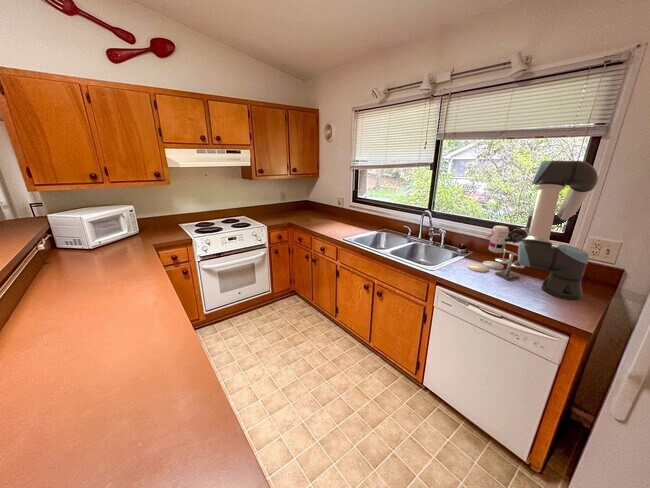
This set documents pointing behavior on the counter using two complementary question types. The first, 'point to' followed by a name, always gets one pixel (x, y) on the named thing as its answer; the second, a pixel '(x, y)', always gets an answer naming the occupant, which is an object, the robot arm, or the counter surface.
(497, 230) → the supplement can
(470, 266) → the cream dish
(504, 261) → the balance
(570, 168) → the robot arm
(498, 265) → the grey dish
